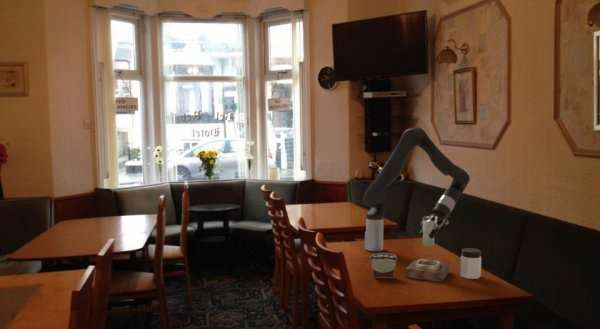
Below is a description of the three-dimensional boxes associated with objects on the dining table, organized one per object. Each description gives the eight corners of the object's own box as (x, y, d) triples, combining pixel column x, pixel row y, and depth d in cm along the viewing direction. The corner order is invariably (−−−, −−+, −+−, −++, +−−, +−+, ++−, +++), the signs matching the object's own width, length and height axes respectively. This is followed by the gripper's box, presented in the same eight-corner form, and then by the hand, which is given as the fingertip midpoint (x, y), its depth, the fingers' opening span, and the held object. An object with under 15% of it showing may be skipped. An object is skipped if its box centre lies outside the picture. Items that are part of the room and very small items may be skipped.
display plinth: (405, 277, 229) (406, 265, 228) (414, 268, 243) (414, 256, 243) (442, 282, 222) (442, 269, 221) (448, 272, 236) (448, 260, 236)
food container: (396, 274, 234) (396, 252, 233) (397, 278, 228) (397, 256, 227) (369, 273, 235) (369, 252, 234) (369, 277, 229) (369, 255, 228)
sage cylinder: (421, 245, 230) (421, 221, 229) (424, 243, 235) (424, 219, 234) (432, 247, 228) (433, 222, 227) (435, 244, 233) (435, 220, 232)
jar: (484, 277, 228) (485, 251, 227) (471, 280, 224) (471, 253, 223) (470, 272, 236) (470, 246, 235) (456, 274, 232) (457, 248, 231)
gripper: (428, 200, 240) (409, 228, 234) (452, 204, 228) (434, 234, 222) (435, 210, 243) (417, 238, 238) (460, 214, 232) (441, 244, 226)
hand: (425, 236), depth 230 cm, fingers closed on sage cylinder, 5 cm apart
